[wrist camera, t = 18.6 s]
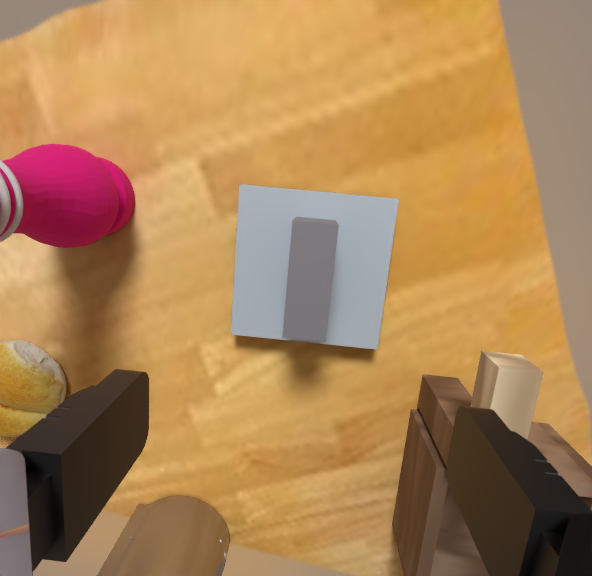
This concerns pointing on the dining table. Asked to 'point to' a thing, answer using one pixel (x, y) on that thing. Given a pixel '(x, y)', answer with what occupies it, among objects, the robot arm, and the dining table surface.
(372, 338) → the lid
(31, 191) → the pepper mill
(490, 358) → the wooden key
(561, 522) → the robot arm
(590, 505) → the toolbox
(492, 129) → the dining table surface
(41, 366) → the bread roll
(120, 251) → the dining table surface
